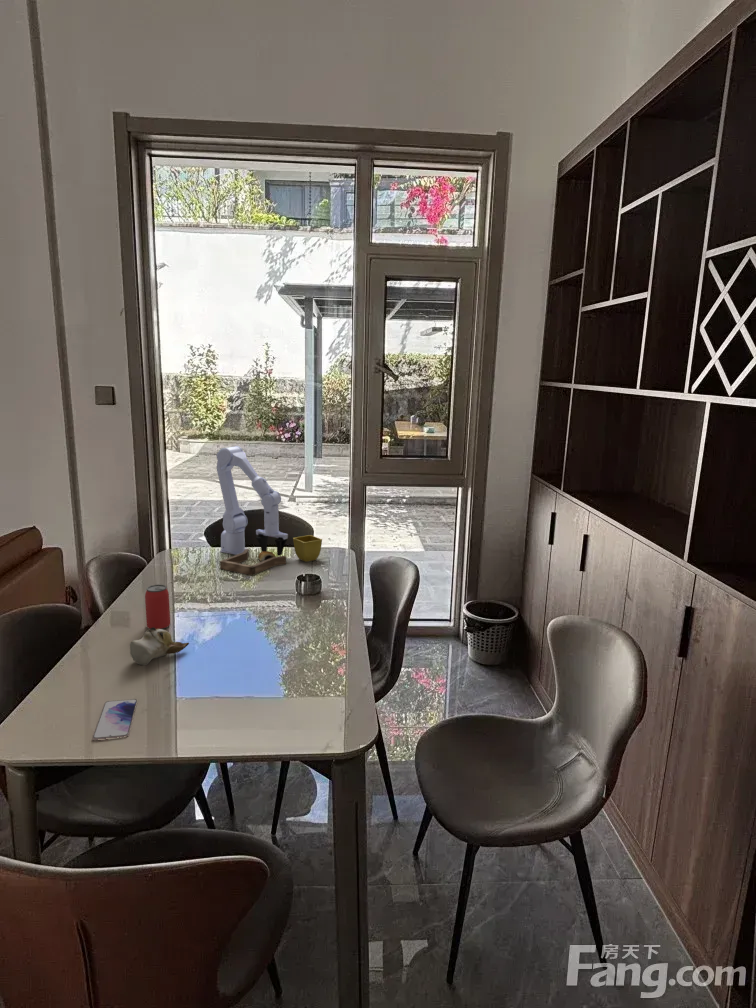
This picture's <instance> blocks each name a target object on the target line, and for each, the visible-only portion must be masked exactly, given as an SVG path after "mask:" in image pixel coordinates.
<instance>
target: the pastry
mask: <svg viewBox="0 0 756 1008" xmlns="http://www.w3.org/2000/svg"><path fill="white" fill-rule="evenodd" d="M272 557H277V556H276V555H275V554H274V553H273V552H272V551H269V550H267V551H263V552H262V551H261V552H259V554H258V556H257V558H258V559H259V563H260V562H262V561H265V560H267V559H270V558H272Z"/></svg>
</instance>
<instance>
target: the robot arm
mask: <svg viewBox="0 0 756 1008" xmlns="http://www.w3.org/2000/svg"><path fill="white" fill-rule="evenodd" d="M216 459H217V463H216V472H217V478H218V480H219V481H218V483H219V486H220V490H221V493H222V499H223V503H224V507H225V511H224V512H223V514H222V520H223V521H222V527H223V531H222V532H221V533H220V550H219V552H220V553H225V554H231V555H234V556H235V555H237V554H240V553H243V551H244V550H245V549H246V547H245V546H246V542H245V530H246V527H247V526H248V524H249V523H248V517H247V515H245V511H244V510H243V509H242V508H241V507H240V506H239V501H238V497H237V491H236V488H235V482H234V479H233V475H232V470H233V468H234V467H238V468H239V469H240V470H242V472H243V473H244V475H246V476H247V478H248V479H249V480H250V481H251V487H252V488H253V489H254V491H255V492H256V493H257V495H258V496H259V497H260V502H261V503H260V504H261V505H262V507H263V514H264V517H263V518H264V519H263V520H264V523H263V524H264V529H260V528H258V529H256V530H255V535H256V540H257V542H258V544H259V546H260V549H261V552H263V551H268V539H269V537H271V538H277V539H274V541H275V545H276V552H277V553H276V555H277V557H279V556H283V550H284V547H285V545H286V544H287V541H288V538H289V534H288V533H285V532H282V531H280V530H279V529H280V528H279V527H280V525H279V524H280V518H279V517H280V516H279V515H280V514H279V510H280V508H279V504H280V503H281V501H282V496H281V494H280V493H279V491H277V490H274V489H273V488H272V487H271V486H270V485H269V482H267V481H268V480H267V478H264V477H263V476H260V475H259V474H258V473H257V472H256V469H254V467H253V465H252V464H251V462H250V461H249V460H248V458H247V453H246V452H245V451H244V450H243V448H242V447H241V446H239V445H234V446H230V447H229V446H228V447H223V448H220V449H219V451H218V452H217V453H216Z"/></svg>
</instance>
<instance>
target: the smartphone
mask: <svg viewBox="0 0 756 1008" xmlns="http://www.w3.org/2000/svg"><path fill="white" fill-rule="evenodd" d="M137 700H138V699H137V698H132V699H121V700H119V699H118V700H107V701H105V702H104V704H103V706H102V710H101V712H100V715H99V718H98V721H97V722H96V727H95V728H94V731H93V735H92V739H93V740H98V739H106V738H117V737H119V739H121V738H120V737H124V736H128V735H129V736H130V734H129V733H130V732H131V730H130V728H131V729H132V726H131V724H132V725H133V722H132V720H133V721H134V718H133V715H134V716H135V714H134V710H135V706H136V703H137ZM137 704H138V703H137ZM136 707H137V706H136ZM135 711H136V710H135ZM129 736H128V737H129ZM92 739H91V740H92ZM93 740H92V741H93Z"/></svg>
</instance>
